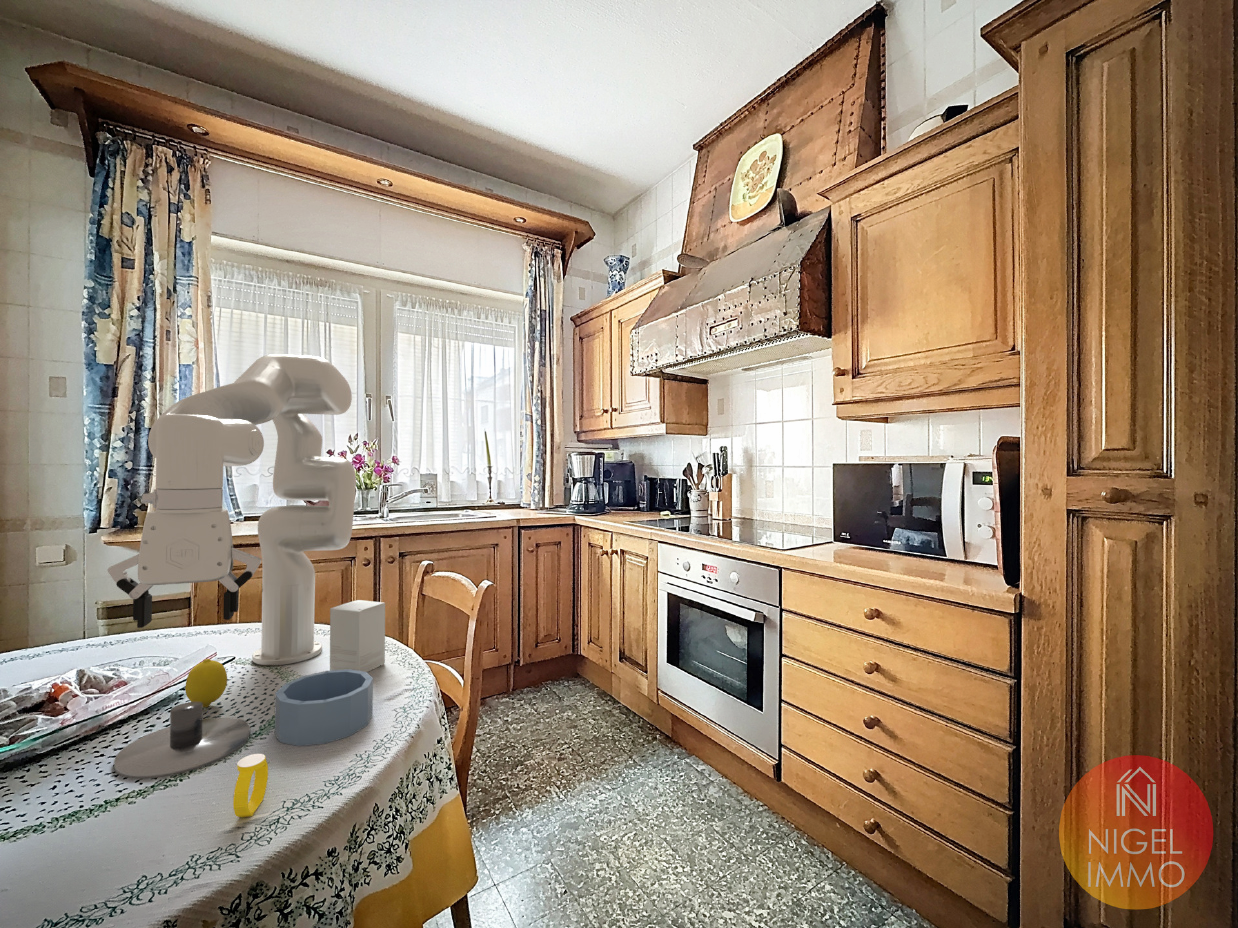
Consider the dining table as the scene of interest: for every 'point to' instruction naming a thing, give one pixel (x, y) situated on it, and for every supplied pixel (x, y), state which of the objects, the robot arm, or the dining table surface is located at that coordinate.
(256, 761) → the watch
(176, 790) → the dining table surface
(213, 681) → the lemon
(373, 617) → the supplement box
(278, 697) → the bowl
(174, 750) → the lid
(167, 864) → the dining table surface
